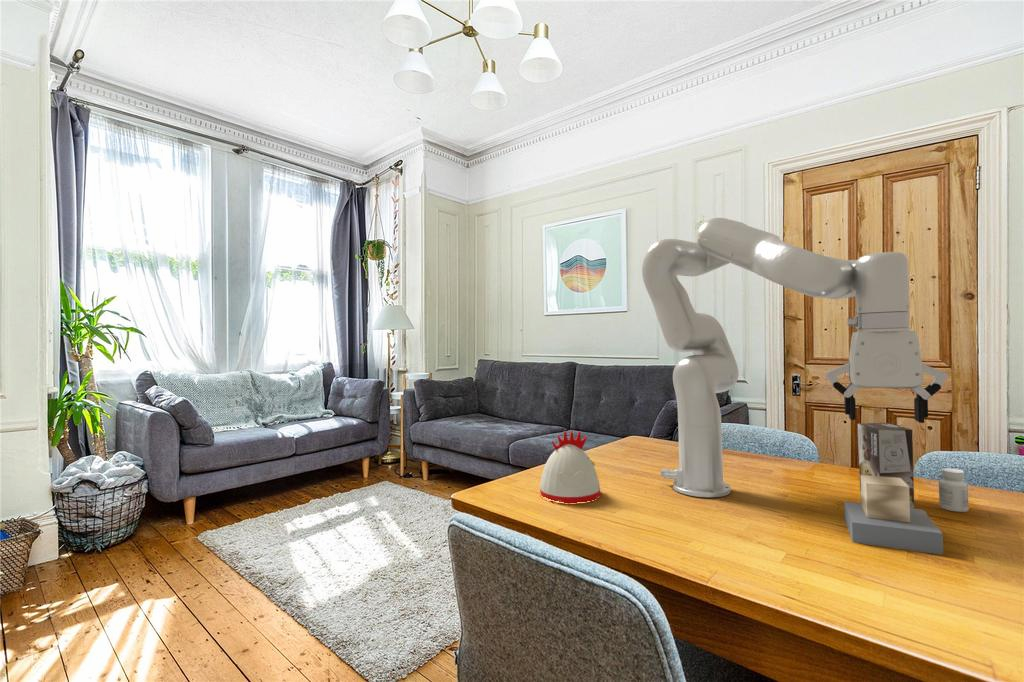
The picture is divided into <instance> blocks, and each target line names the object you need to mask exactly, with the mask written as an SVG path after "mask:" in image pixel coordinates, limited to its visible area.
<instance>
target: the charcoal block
mask: <svg viewBox="0 0 1024 682" xmlns="http://www.w3.org/2000/svg"><path fill="white" fill-rule="evenodd" d="M843 503H844V504H843V510H844V513H843V514H844V522H845V525H846V527H847V529H848V532H849V536H850V538H851V541H852V543H856V544H863V545H869V546H877V547H885V548H892V549H900V550H905V551H906V550H907V551H914V552H919V553H920V552H921V553H927V554H933V555H941V556H943V555H944V541H943V540H944V538H943V535H944V533H943V532H942V531H941V530H940V529H939V528H938V526H937V525H936V524H935V522H934V521H933V520H932V518H930V516H929V515H928V514H927V513H926V511H925V510H924V509H919V508H918V509H917V508H914V509H910V522H904V521H895V520H886V519H877V518H868V517H867V516H866V514H865V512H864V511H863V509H862V505H861V502H854V501H844V502H843Z"/></svg>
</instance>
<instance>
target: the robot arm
mask: <svg viewBox="0 0 1024 682" xmlns="http://www.w3.org/2000/svg"><path fill="white" fill-rule="evenodd" d="M908 261H909V260H908V257H907V256H906V254H905V253H903V252H899V251H898V252H897V251H885V252H883V251H882V252H875V253H870V254H865V255H862V256H860V257H858V258H857V259H841V258H837V257H834V256H827V255H823V254H820V253H817V252H813V251H811V250H807V249H804V248H803V247H802V248H801V247H799V246H796V245H792V244H790V243H789V242H785V241H783V240H781V239H780V236H778V235H777V234H775V233H774V234H773V233H772V232H768V231H765V230H762V229H759V228H755V227H752V226H749V225H747V224H745V223H744V222H740V221H737V220H733V219H729V218H725V217H713V218H710V219H707V220H705V222H703V223H702V225H700V227H699V228H698V231H697V235H696V242H693V241H687V240H683V239H677V238H665V239H660V240H658V241H656V242H654V243H653V244H652V245H651V246H650V247H649V248H648V249H647V251H646V253H645V255H644V258H643V262H642V267H641V273H642V280H643V284H644V287H645V289H646V292H647V294H648V296H649V298H650V300H651V303H652V305H653V309H654V312H655V315H656V318H657V321H658V323H659V326H660V329H661V331H662V334H663V337H664V340H665V343H666V344H667V346H668V347H669V348H670V349H671V350H673V351H674V352H680V353H686V352H687V353H689V352H691V353H692V355H688V356H686V357H682V359H680V360H679V361H678V362H677V363H676V365H675V366H674V369H673V372H672V383H673V388H674V393H675V398H676V403H677V404H676V407H677V423H678V424H677V425H678V427H677V429H678V461H679V462H678V463H679V465H678V468H676V467H675V468H674V469H670V468H663V467H662V468H661V469H660V476H661V477H664V479H668V480H670V479H671V480H674V482H673V483H672V488H673V489H674V491H676V492H677V493H680V494H681V495H682V494H683V495H687V496H691V497H696V498H721V497H725V496H729V494H730V493H731V490H732V489H731V486H730V485H729V484H728V483H727V482H725V481H724V473H723V472H724V468H723V467H724V466H723V465H724V464H723V463H724V462H723V436H722V434H723V433H722V431H723V429H722V411H721V407H720V404H719V401H718V397H717V394H720V393H724V392H727V391H730V390H731V389H732V388H733V387H735V385H737V381H738V379H739V368H738V363H737V361H736V358H735V355H734V353H733V350H732V348H731V345H730V343H729V341H728V338H727V335H726V332H725V331H724V329H723V328H724V327H722V325H721V323H720V322H719V321H718V320H717V318H715V317H714V316H712V315H711V314H708V313H701V312H696V311H695V309H694V307H693V304H692V302H691V299H690V296H689V293H688V291H687V289H686V288H685V287H684V286H683V284H682V283H681V282H680V281H679V279H678V276H683V277H691V278H692V277H699V276H702V275H705V274H708V273H710V272H713V271H715V270H717V269H720V268H722V267H724V266H726V265H728V264H732V265H735V266H737V267H740V268H743V269H745V270H747V271H750V272H752V273H754V274H756V275H757V276H760V277H763V278H764V279H767V280H768V281H771V282H773V283H775V284H778V285H780V286H783V287H784V288H788V289H789V290H792V291H795V292H797V293H800V294H803V295H805V296H808V297H812V298H819V299H820V298H823V299H830V300H841V299H849V298H853V297H855V312H856V314H855V316H854V317H850V318H849V317H847V318H846V326H850V327H851V326H852V327H854V328H855V329H856V331H854V332H852V335H851V339H850V344H849V354H848V362H847V363H845V364H843V365H840V366H838V367H836V368H834V369H831V370H829V371H826V373H825V376H826V378H827V379H828V381H829V382H830V384H831V385H832V387H833V389H835V390H837V391H838V392H839V393H840V394H841V395H843V396H844V397H843V399H844V400H843V401H844V402H843V403H844V415H847V416H848V418H849V420H850V421H855V420H856V419H857V417H856V416H857V412H856V411H857V410H856V409H857V408H856V398H855V397H854V394H855V393H856V392H857V391H858V390H859V389H860V388H863V389H864V388H865V389H896V390H897V389H902V390H904V389H908V390H909V389H910V390H911V391H913V392H914V394H916V395H915V398H913V404H914V405H913V406H914V407H913V408H914V409H913V410H914V420H915V421H916V422H918V423H920V424H925V419H926V418H929V401H928V400H930V399H931V397H932V396H933V395H935V394H937V393H938V392H940V390H941V388H942V386H943V385H944V384H945V382H946V380H947V379H948V377H949V375H948V373H947V372H945V371H942V370H939V369H936V368H934V367H932V366H929V365H927V364H924V363H923V362H922V361H923V359H922V354H921V351H922V350H921V348H920V341H919V336H918V333H917V331H916V330H911V328H910V327H911V326H910V291H909V290H910V289H909V286H910V285H909V282H910V281H909V262H908ZM847 372H848V380H849V384H848V385H847V386H844V385H842V383H840V380H838V376H840V375H842V374H845V373H847ZM924 373H925V374H927V375H929V376H932V377H933V380H932V382H931V383H929V385H927V386H926V387H925V388H924V387H923V382H924Z"/></svg>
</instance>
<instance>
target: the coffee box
mask: <svg viewBox="0 0 1024 682" xmlns="http://www.w3.org/2000/svg"><path fill="white" fill-rule="evenodd" d="M913 439H914V438H913V429H911V428H907V427H903V426H901V425H897V424H893V423H890V422H867V423H865V422H864V423H863V422H862V423H861V422H860V423H857V440H858V441H857V444H858V446H857V447H858V466H859V467H858V468H859V494H860V496H861V475H869V476H882V477H895V478H901V479H902V480H903V481H904V482H905V483H906V484H907V485H908V486H909V498H910V509H915V486H914V481H915V478H914V449H913V447H914V444H913Z"/></svg>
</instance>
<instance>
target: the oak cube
mask: <svg viewBox="0 0 1024 682" xmlns="http://www.w3.org/2000/svg"><path fill="white" fill-rule="evenodd" d="M860 500H861V501H860V503H861V505H862V509H863V511H864V512H865V514H866V516H867V517H868V518H877V519H886V520H895V521H904V522H910V498H909V486H908V485H907V484H906V483H905V482H904V481H903V480H902V479H901V478H895V477H882V476H869V475H861V495H860Z"/></svg>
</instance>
